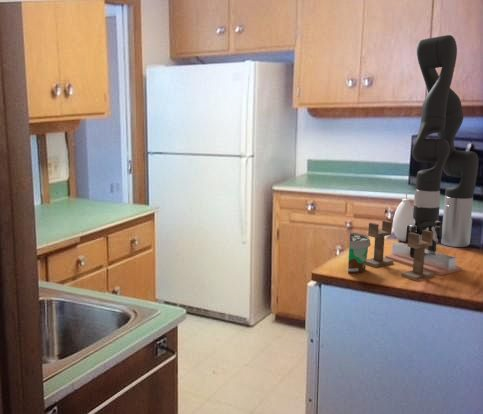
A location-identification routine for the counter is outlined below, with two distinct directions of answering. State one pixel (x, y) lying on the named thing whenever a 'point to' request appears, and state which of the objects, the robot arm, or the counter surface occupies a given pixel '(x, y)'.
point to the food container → (358, 253)
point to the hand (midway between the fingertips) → (422, 255)
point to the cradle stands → (412, 242)
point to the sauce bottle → (403, 219)
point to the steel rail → (427, 257)
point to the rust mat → (425, 267)
